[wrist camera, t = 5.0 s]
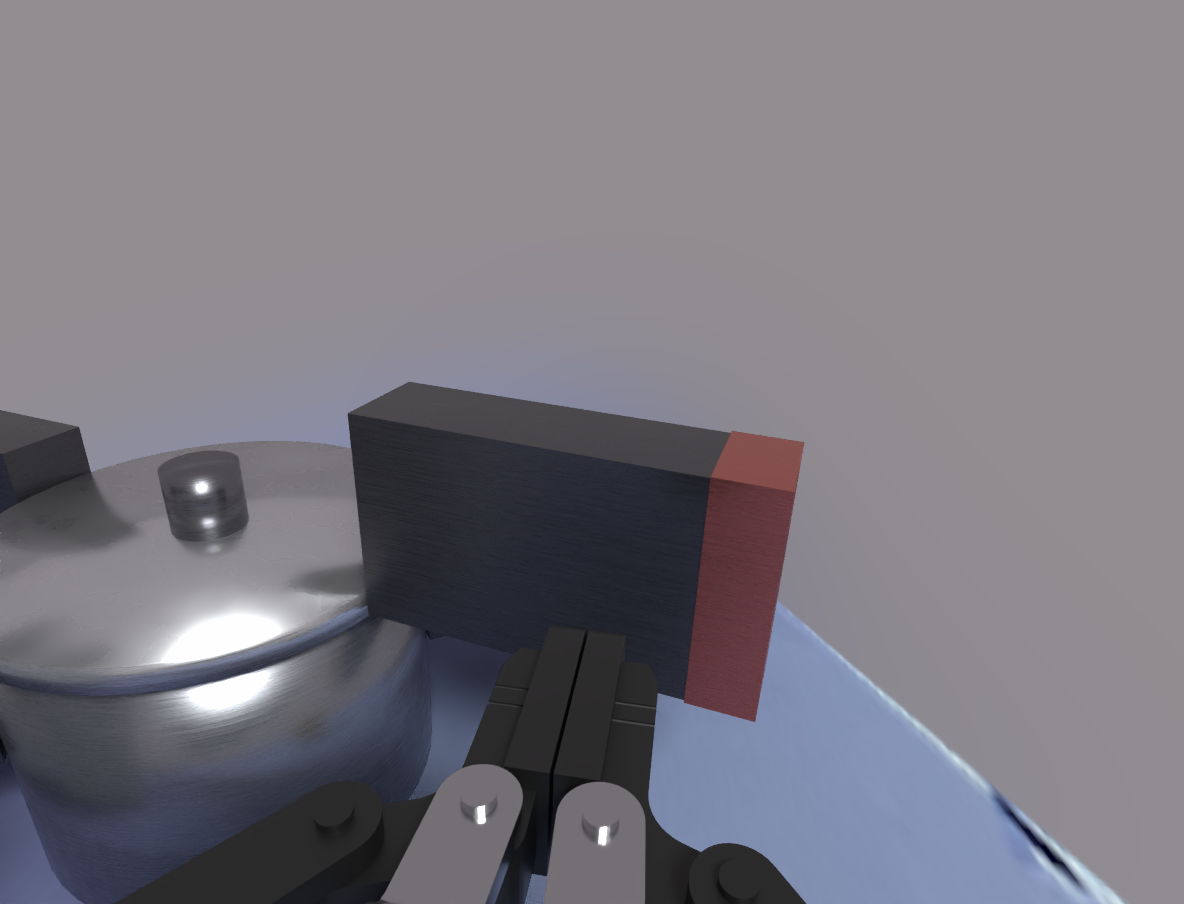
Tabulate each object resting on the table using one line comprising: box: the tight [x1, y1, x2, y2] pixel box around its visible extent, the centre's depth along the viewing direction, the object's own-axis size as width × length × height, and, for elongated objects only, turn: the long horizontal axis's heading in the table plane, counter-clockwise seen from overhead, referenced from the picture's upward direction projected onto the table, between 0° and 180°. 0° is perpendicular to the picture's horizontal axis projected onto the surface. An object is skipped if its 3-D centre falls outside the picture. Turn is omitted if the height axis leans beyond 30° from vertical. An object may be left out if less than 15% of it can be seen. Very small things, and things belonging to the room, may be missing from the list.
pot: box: [0, 615, 445, 904], centre depth 31 cm, size 27×23×10 cm
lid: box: [0, 382, 804, 722], centre depth 25 cm, size 33×16×7 cm, turn 71°
